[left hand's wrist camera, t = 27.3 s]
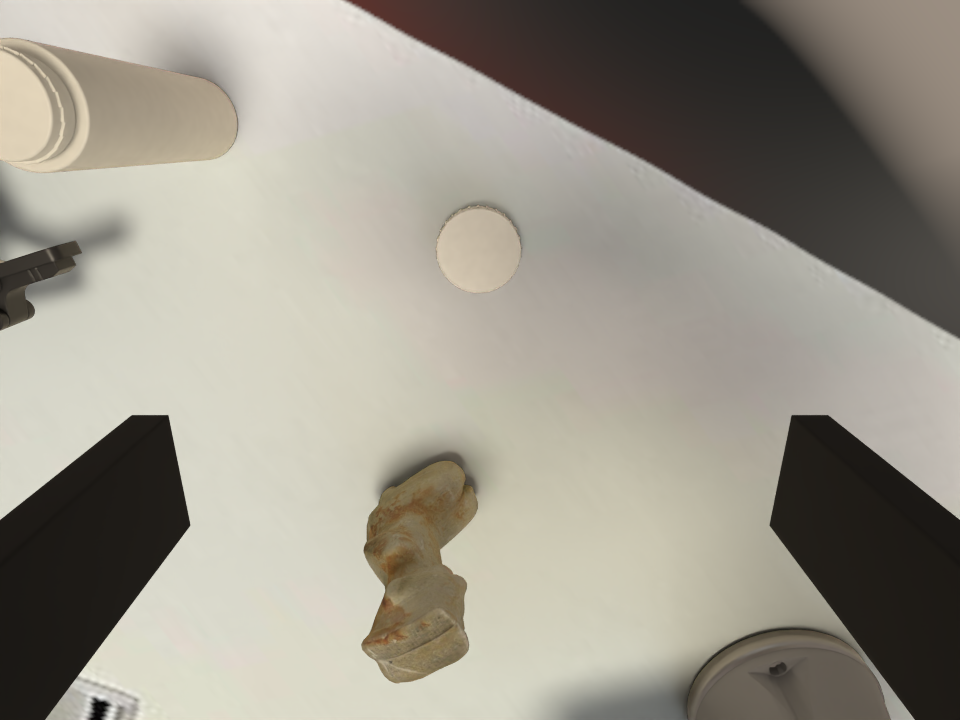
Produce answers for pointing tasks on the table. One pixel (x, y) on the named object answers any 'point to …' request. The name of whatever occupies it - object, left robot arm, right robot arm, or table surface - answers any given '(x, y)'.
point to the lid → (478, 249)
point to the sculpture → (418, 573)
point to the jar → (104, 112)
